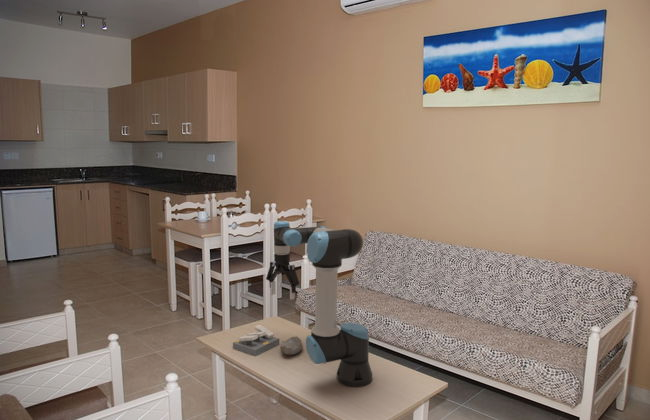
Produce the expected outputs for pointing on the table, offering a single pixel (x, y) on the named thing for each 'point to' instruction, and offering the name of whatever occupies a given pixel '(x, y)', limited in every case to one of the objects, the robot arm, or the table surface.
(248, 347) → the switch unit
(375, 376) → the table surface
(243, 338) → the plate
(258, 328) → the rocker
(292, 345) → the seashell
